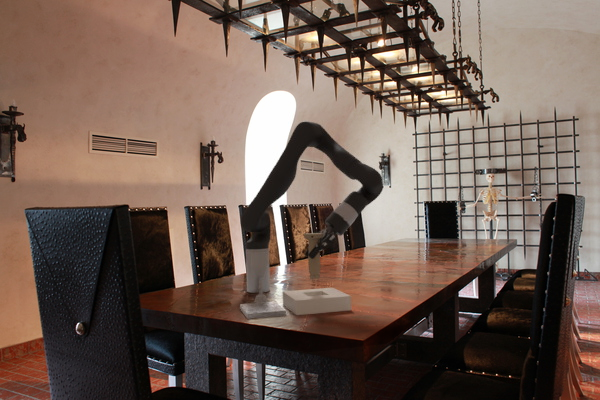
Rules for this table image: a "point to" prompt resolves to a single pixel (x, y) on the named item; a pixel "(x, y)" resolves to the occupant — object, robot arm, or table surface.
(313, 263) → the handle
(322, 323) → the table surface
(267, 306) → the white flat slab
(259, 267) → the chalice
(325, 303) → the socket block
